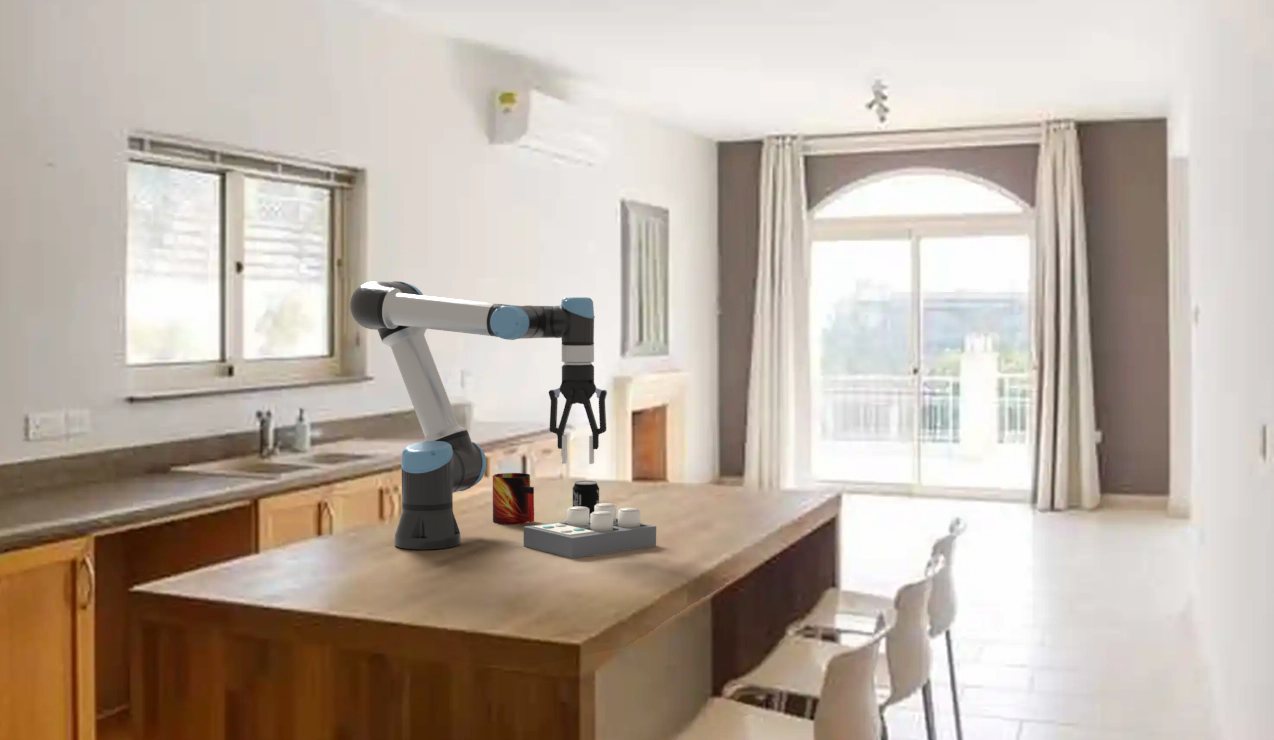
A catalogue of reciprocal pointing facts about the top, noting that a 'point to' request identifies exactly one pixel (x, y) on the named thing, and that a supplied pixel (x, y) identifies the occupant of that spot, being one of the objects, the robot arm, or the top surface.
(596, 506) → the button
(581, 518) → the button
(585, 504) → the beverage can
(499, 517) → the mug
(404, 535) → the robot arm
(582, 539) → the board
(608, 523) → the button
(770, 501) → the top surface
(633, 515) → the button
